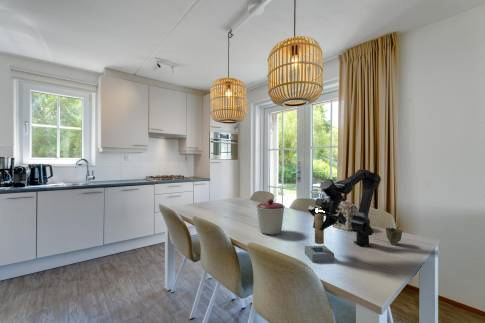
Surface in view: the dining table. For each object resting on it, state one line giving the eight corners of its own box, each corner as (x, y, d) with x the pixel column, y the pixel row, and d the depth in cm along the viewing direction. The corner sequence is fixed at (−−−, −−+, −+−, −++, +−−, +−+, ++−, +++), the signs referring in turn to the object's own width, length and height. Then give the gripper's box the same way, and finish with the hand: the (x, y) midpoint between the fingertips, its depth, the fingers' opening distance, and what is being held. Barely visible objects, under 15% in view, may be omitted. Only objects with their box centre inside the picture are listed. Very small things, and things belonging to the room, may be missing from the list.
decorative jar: (358, 228, 153) (358, 201, 153) (348, 231, 147) (348, 203, 147) (341, 224, 163) (341, 198, 163) (331, 226, 157) (331, 200, 157)
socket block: (304, 253, 112) (304, 246, 112) (324, 252, 113) (324, 245, 113) (312, 262, 102) (312, 254, 102) (334, 261, 103) (334, 253, 103)
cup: (382, 242, 126) (382, 228, 126) (391, 241, 129) (391, 226, 129) (396, 247, 119) (396, 232, 119) (405, 245, 122) (405, 230, 122)
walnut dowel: (314, 240, 110) (314, 213, 110) (323, 241, 108) (323, 214, 108) (314, 243, 106) (314, 215, 106) (323, 244, 105) (323, 216, 105)
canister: (264, 238, 133) (264, 202, 133) (251, 230, 150) (251, 197, 150) (290, 234, 140) (290, 200, 140) (275, 226, 157) (275, 195, 157)
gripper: (310, 189, 117) (293, 214, 112) (342, 194, 101) (324, 223, 95) (320, 203, 121) (305, 227, 116) (353, 210, 105) (337, 238, 99)
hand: (317, 228), depth 106 cm, fingers closed on walnut dowel, 4 cm apart
